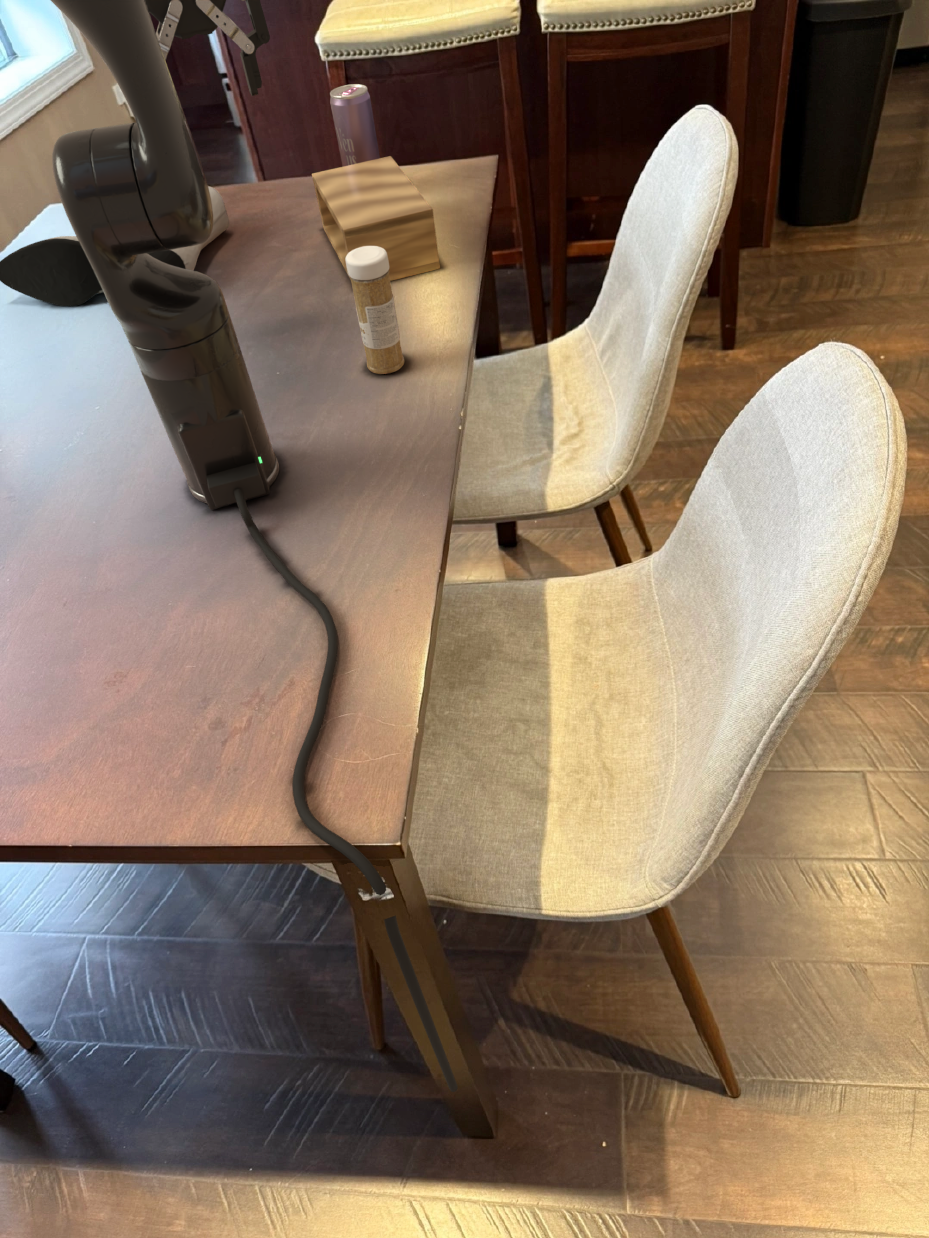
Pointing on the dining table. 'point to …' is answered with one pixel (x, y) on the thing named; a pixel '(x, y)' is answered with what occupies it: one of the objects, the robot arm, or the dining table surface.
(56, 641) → the dining table surface
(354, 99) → the beverage can
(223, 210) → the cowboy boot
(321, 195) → the box
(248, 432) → the robot arm
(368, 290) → the sprinkles bottle
